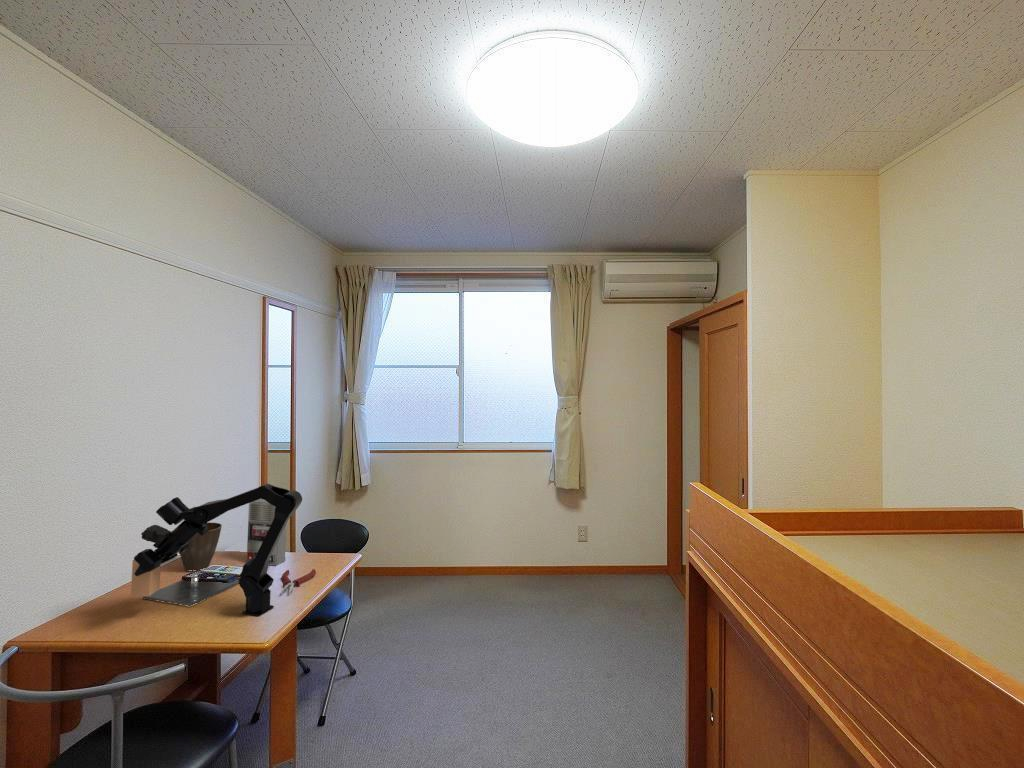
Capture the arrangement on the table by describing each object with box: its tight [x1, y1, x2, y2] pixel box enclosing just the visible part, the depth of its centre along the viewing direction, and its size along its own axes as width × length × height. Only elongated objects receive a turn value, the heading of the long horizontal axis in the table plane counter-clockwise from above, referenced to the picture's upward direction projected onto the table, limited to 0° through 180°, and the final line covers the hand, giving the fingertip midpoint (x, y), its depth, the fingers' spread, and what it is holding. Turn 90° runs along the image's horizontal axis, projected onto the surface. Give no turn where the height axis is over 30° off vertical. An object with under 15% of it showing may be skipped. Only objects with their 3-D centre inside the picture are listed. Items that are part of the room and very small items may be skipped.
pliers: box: [279, 568, 317, 596], centre depth 164 cm, size 12×20×3 cm, turn 10°
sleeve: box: [130, 559, 162, 598], centre depth 140 cm, size 5×5×11 cm
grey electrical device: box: [244, 499, 287, 566], centre depth 186 cm, size 14×6×25 cm, turn 82°
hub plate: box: [142, 573, 239, 606], centre depth 158 cm, size 20×20×6 cm
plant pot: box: [178, 522, 223, 571], centre depth 178 cm, size 15×15×16 cm
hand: (141, 571), depth 140 cm, fingers closed on sleeve, 5 cm apart
